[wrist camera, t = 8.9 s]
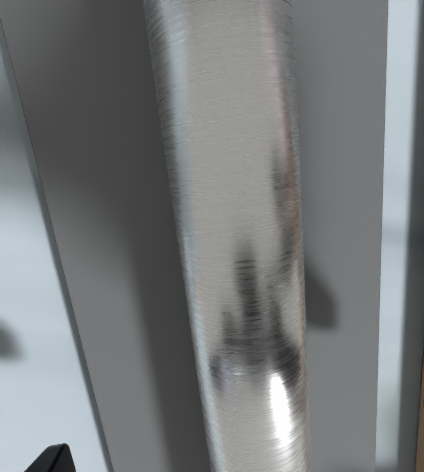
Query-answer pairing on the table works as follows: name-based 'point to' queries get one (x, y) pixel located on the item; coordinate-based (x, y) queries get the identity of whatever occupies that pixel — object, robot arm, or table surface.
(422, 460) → the hook stand
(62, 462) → the robot arm
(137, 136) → the rubber mat
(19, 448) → the table surface
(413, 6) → the table surface
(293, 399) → the steel rail
